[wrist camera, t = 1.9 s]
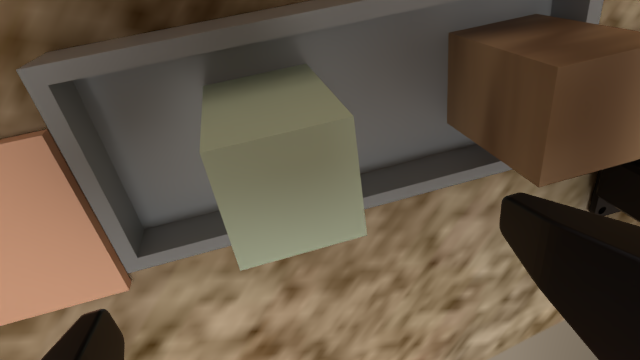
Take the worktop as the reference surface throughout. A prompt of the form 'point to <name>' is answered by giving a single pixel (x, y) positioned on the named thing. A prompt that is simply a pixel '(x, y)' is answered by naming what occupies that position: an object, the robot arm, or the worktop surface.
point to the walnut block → (547, 94)
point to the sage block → (281, 164)
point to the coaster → (48, 234)
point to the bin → (250, 59)
